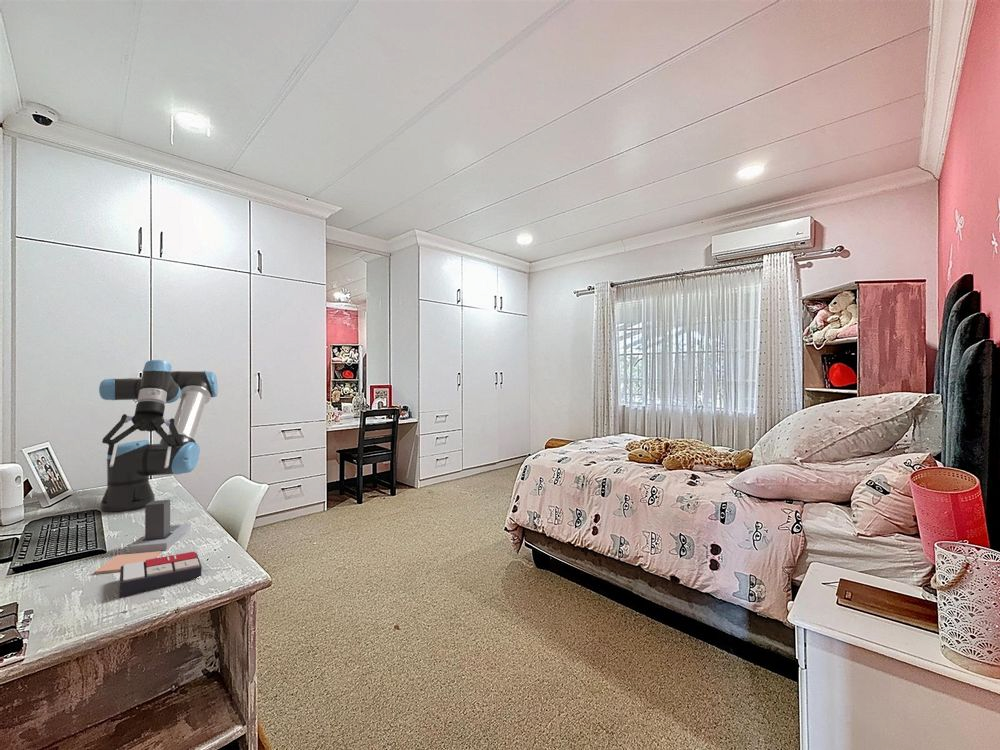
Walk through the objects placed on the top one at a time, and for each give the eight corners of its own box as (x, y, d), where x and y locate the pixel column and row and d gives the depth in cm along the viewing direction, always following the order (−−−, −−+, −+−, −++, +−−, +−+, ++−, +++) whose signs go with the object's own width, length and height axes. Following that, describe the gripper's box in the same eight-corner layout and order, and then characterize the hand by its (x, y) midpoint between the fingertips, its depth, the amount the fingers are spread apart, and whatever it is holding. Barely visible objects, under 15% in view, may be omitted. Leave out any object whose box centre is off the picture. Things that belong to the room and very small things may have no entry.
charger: (152, 541, 127) (152, 500, 127) (170, 540, 128) (170, 499, 128) (145, 547, 123) (145, 504, 123) (163, 545, 124) (163, 503, 124)
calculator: (202, 563, 105) (120, 579, 96) (201, 581, 105) (119, 599, 95) (196, 549, 114) (121, 562, 104) (195, 566, 114) (119, 580, 104)
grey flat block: (156, 532, 134) (156, 525, 134) (190, 529, 136) (190, 523, 136) (127, 553, 118) (127, 546, 118) (166, 550, 121) (166, 542, 121)
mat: (117, 557, 116) (117, 555, 116) (161, 553, 119) (161, 551, 119) (93, 574, 106) (93, 571, 106) (142, 569, 109) (142, 567, 109)
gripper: (102, 394, 135) (87, 461, 127) (197, 404, 152) (189, 464, 143) (100, 403, 140) (85, 468, 132) (193, 411, 157) (184, 470, 148)
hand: (139, 466), depth 138 cm, fingers open, 13 cm apart
